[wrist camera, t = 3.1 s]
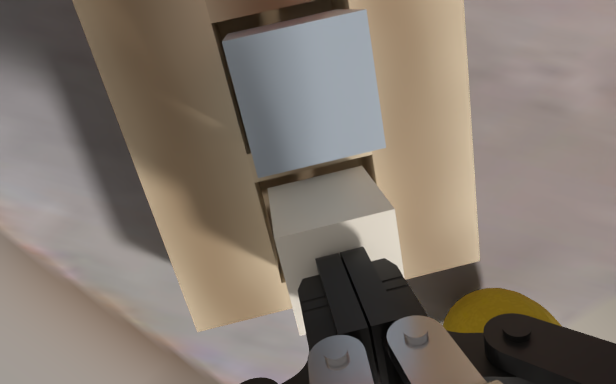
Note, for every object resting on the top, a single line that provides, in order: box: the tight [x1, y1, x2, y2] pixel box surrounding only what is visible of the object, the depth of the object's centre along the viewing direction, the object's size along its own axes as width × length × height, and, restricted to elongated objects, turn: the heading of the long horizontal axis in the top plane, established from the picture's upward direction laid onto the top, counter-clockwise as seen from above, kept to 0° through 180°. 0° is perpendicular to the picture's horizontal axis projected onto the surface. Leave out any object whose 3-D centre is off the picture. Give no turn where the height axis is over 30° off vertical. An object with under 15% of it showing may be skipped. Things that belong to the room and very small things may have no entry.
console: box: [72, 0, 480, 332], centre depth 17 cm, size 12×18×4 cm, turn 11°
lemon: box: [443, 288, 561, 333], centre depth 21 cm, size 6×6×8 cm
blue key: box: [222, 9, 386, 178], centre depth 14 cm, size 4×4×4 cm
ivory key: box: [268, 166, 405, 336], centre depth 16 cm, size 4×4×4 cm
